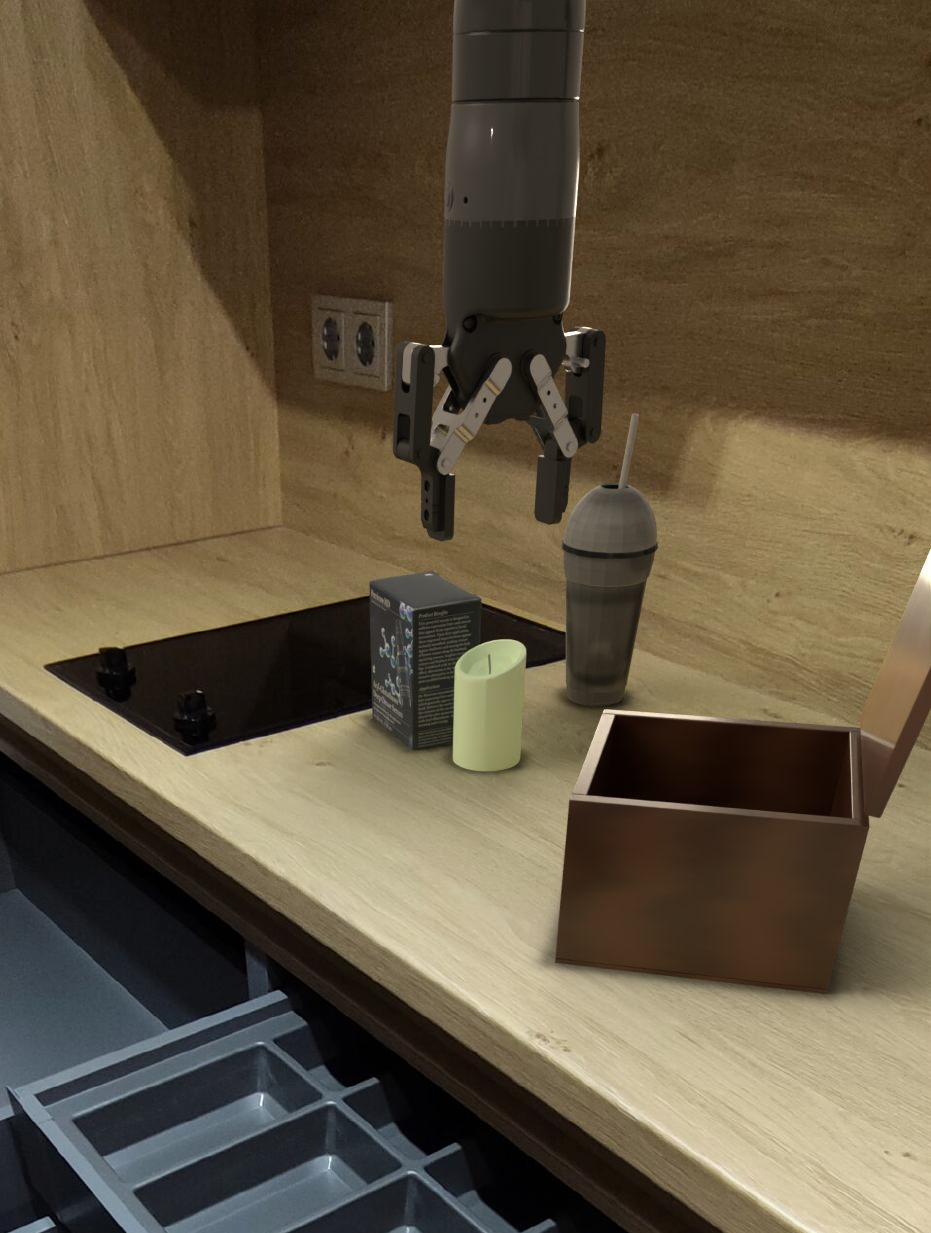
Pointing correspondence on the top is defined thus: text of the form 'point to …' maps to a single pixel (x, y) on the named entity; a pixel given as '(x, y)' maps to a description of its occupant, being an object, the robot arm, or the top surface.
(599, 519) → the beverage cup
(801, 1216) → the top surface
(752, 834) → the chest
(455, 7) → the robot arm
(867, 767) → the lid
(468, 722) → the candle
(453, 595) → the box
